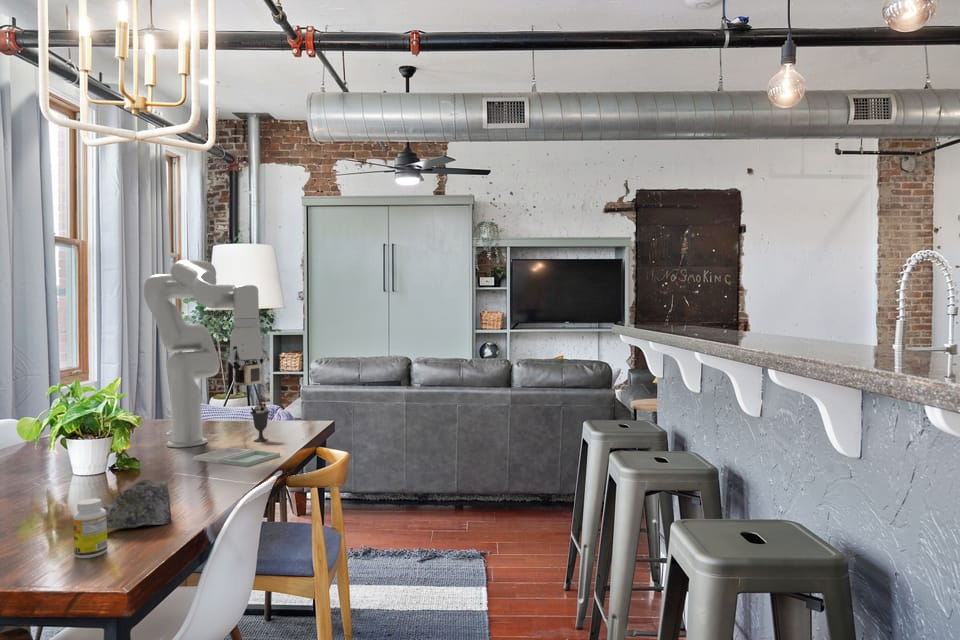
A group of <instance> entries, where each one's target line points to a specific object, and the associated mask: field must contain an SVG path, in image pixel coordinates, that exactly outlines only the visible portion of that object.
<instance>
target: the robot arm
mask: <svg viewBox="0 0 960 640" xmlns="http://www.w3.org/2000/svg"><path fill="white" fill-rule="evenodd" d="M143 296H144V297H143V298H144V301H145V303H146V306H147V307H148V309H149V310H150V313H151V314H152V316H153V318H154V320H155V324H156V327H157V329H158V332H159V336H160V338H161V341H162V344H163V346H164V348H165V349H166V350H167V351H169V352H176V353H174V354H172V355H171V356H169V357H168V359H167V361H166V372H167V377H168V381H169V389H170V415H171V416H170V419H171V420H170V421H171V423H170V424H171V430H169V431H168V432H166V433H165V437H167V438H169V440H168V441H166V445H167V447H169V448H191V447H198V446H202V445H205V444H206V443H207V441H208V439H207V438H206V437H203V429H202V427H203V426H202V424H203V423H202V392H201V390H200V387H199V385H198V384H197V382H196V381H195V380H197V379H206V378H212V377H214V376H217V374H218V373H219V372H220V369H221V364H220V363H221V361H220V358H219V354H218V352H217V350H216V347H215V344H214V343H215V342H214V340H213V338H212V335H211V333H210V330H209V329H208V328H207V327H206V326H205V325H203V324H202V323H186V322H185V321H184V319H183V316H182V313H181V311H180V309H179V308H178V307H177V306H176V305H175V304H174V303H173V302H172V301H170V299H193V298H194V300H195V301H196V302H197V303H199V304H200V305H202V306H204V307H207V308H209V309H212V310H213V309H214V310H216V309H218V310H219V309H220V310H221V309H231V310H233V328H232V329H231V334H230V339H229V356H228V358H227V359H226V360H227V362H228V363H229V364H230V365H231V366H232V368H233V369H234V370H235V382H236V383H244V370H242V369H243V366H244V364H245V361H250V364H263V362H264V360H265V359H266V357H267V355H266V353H265V351H263V338H262V331H261V329H260V323H261V322H260V315H259V314H260V312H259V311H260V309H259V308H260V307H259V305H260V304H259V288H258V287H257V286H256V285H254V284H242V285H241V284H240V285H238V284H236V285H235V284H217V270H216V268H215V266H214V265H213V264H212V263H211V262H210V261H207V260H195V259H192V260H191V259H182V260H178V261H176V262H174V263H173V264H172V265H171V267H170V273H168V274H167V273H166V274H165V273H161V274H158V273H157V274H154V275H151V276H149V277H147V279H146V280H145V281H144V284H143ZM233 369H232V370H233Z"/></svg>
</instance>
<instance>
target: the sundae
mask: <svg viewBox="0 0 960 640" xmlns="http://www.w3.org/2000/svg"><path fill="white" fill-rule="evenodd" d="M265 399H267V397H263V399H262V401H259V402H258V403H257V404H256V405H255V406H254V408H253V407H252V406H251V408H250V409H251V410H250V415H252V419H253V426H254V428H255V429H256V430H257V432H258V438H256V439H254V440H253V442H255V443H264V442H265V443H266V442H268V441H269V439H268V438H265V437H264V434H263V433H264V430H266V428H267V426H268V419H269V414H270V413H271V411H270V410H269V408H268V407H267V404H266V402H265Z"/></svg>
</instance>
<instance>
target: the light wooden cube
mask: <svg viewBox="0 0 960 640" xmlns="http://www.w3.org/2000/svg"><path fill="white" fill-rule="evenodd" d="M262 364H263V363H262ZM262 364H251V363H244V366H243V369H242V370H244V383H236V382H235V370H234V369H232V370H233V371H232V373H233V374H232V375H233V378H232V379H233V385H235V386H255V385H260V384H263V372H262V371H263V369H262V367H263V365H262Z"/></svg>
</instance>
